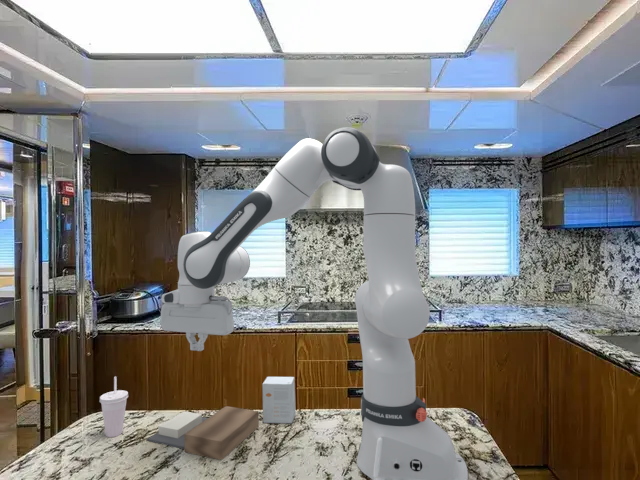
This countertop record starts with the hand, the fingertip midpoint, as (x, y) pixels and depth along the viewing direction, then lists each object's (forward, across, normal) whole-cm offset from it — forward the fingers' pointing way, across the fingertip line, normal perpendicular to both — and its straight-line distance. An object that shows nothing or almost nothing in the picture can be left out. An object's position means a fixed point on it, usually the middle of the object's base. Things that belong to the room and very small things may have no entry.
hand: (197, 350), depth 93 cm
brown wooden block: (+21, -8, 0) cm, 22 cm away
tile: (+18, +5, 0) cm, 19 cm away
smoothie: (+21, +20, +7) cm, 30 cm away
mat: (+21, +3, 0) cm, 21 cm away
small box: (+21, -16, -14) cm, 30 cm away
